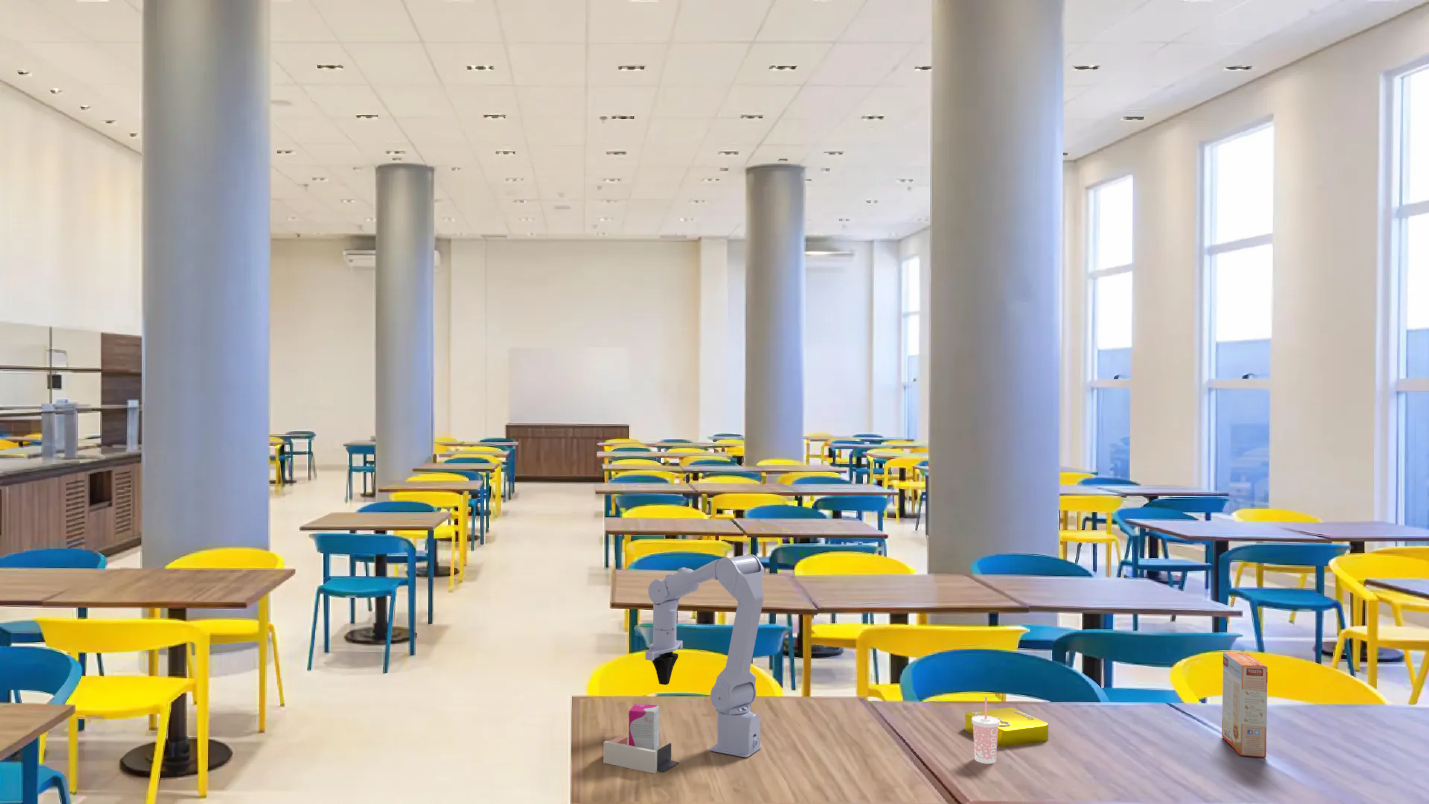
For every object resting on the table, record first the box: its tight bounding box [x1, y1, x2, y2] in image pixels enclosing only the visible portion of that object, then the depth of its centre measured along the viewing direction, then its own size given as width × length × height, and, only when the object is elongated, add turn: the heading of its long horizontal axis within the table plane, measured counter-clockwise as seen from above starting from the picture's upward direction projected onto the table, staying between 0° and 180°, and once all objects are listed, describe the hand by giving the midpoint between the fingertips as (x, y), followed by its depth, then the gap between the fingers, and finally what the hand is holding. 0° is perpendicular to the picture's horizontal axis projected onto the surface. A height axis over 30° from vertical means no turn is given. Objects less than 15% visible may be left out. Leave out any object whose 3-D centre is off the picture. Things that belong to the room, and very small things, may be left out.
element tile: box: [964, 707, 1049, 748], centre depth 240 cm, size 15×15×5 cm
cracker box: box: [1221, 651, 1269, 759], centre depth 232 cm, size 14×6×21 cm, turn 168°
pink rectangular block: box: [609, 735, 629, 745], centre depth 221 cm, size 2×6×4 cm, turn 152°
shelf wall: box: [603, 740, 658, 774], centre depth 214 cm, size 13×1×4 cm, turn 62°
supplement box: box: [628, 703, 660, 751], centre depth 219 cm, size 6×6×12 cm
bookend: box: [657, 742, 680, 773], centre depth 215 cm, size 2×6×4 cm, turn 152°
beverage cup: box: [972, 696, 1000, 765], centre depth 222 cm, size 6×6×14 cm
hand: (664, 683), depth 242 cm, fingers closed
